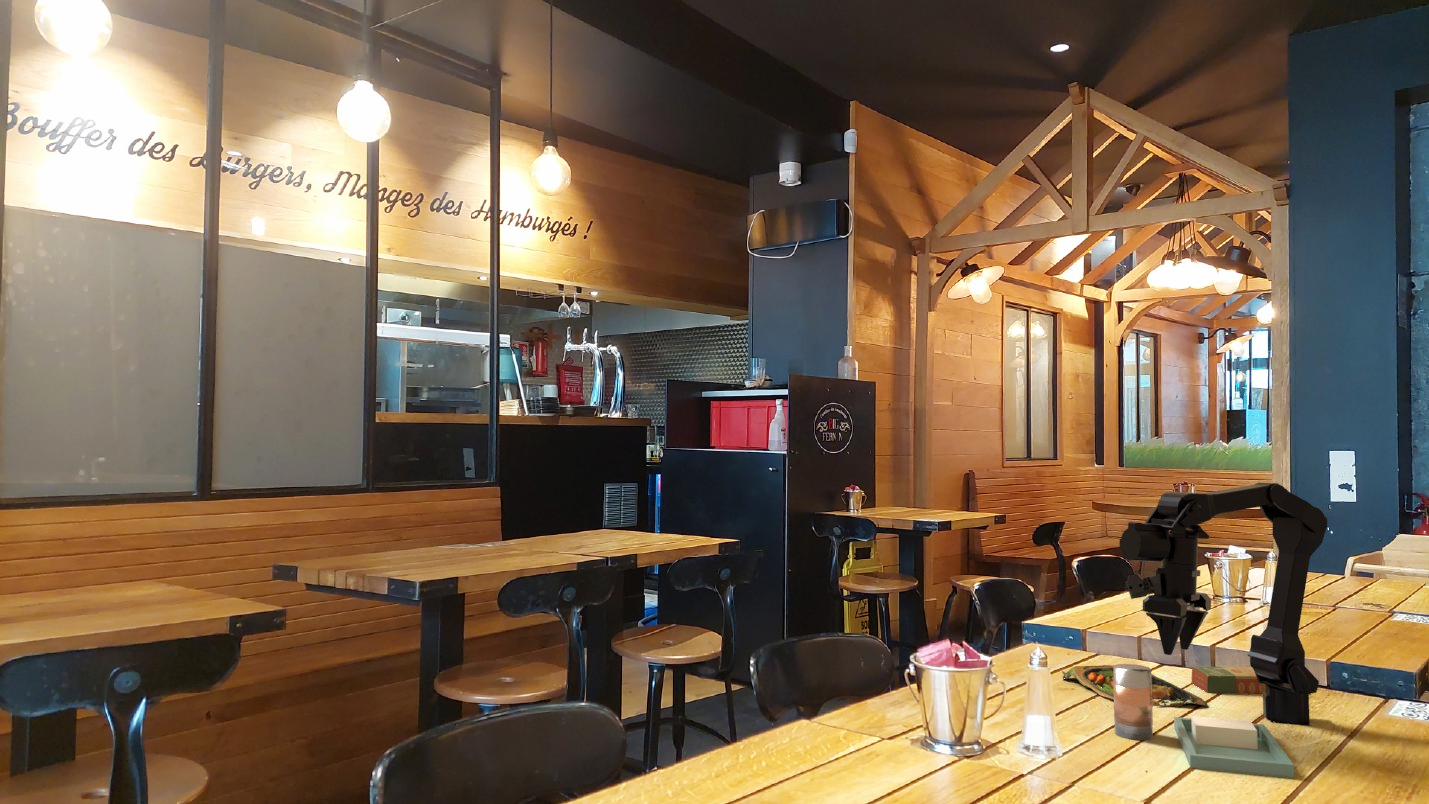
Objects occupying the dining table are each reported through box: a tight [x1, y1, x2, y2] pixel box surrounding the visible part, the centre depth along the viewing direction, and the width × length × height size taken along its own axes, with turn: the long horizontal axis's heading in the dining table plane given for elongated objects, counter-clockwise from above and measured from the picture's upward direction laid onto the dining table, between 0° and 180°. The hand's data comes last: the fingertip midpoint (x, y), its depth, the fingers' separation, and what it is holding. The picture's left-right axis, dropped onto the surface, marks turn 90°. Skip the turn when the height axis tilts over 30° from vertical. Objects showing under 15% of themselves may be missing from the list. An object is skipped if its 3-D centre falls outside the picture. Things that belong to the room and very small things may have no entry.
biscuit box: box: [1190, 715, 1258, 749], centre depth 161 cm, size 9×6×3 cm, turn 70°
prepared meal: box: [1060, 664, 1210, 709], centre depth 196 cm, size 28×4×18 cm
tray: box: [1173, 716, 1295, 779], centre depth 156 cm, size 14×22×2 cm, turn 160°
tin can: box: [1113, 663, 1154, 741], centre depth 165 cm, size 6×6×12 cm
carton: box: [1191, 665, 1266, 696], centre depth 197 cm, size 8×16×4 cm, turn 84°
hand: (1176, 651), depth 169 cm, fingers open, 9 cm apart
